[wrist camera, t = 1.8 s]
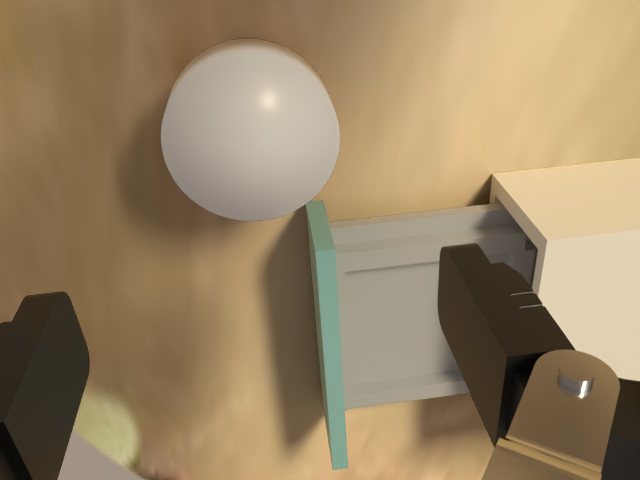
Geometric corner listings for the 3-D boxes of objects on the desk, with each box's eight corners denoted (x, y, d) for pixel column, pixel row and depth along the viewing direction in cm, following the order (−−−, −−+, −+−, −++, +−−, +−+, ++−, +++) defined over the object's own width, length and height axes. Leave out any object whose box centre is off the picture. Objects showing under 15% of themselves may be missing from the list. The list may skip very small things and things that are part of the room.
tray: (305, 201, 27) (315, 251, 24) (538, 176, 28) (581, 220, 25) (323, 408, 35) (332, 470, 31) (508, 384, 35) (537, 441, 32)
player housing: (492, 173, 28) (547, 240, 23) (717, 149, 29) (819, 208, 24) (470, 386, 36) (509, 471, 31) (650, 362, 36) (717, 442, 31)
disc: (150, 47, 20) (142, 63, 18) (327, 30, 20) (335, 45, 19) (183, 203, 23) (179, 229, 22) (336, 187, 24) (343, 211, 22)
